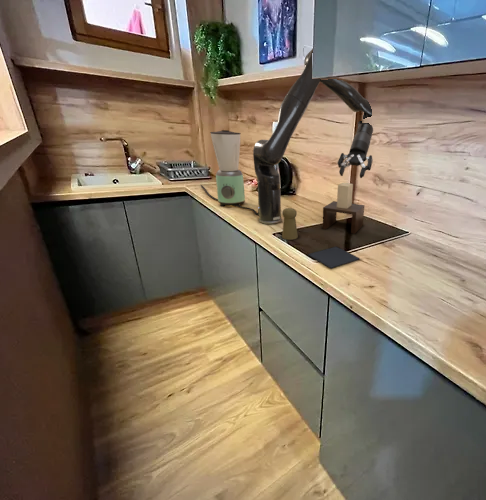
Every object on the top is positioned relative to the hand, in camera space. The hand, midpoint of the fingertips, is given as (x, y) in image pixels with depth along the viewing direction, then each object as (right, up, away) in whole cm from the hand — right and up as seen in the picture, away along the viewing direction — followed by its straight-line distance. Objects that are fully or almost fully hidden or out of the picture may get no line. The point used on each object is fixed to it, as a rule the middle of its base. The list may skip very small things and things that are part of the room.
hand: (350, 175), depth 126 cm
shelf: (-3, -21, +3) cm, 22 cm away
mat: (-7, -33, -27) cm, 43 cm away
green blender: (-59, -7, +29) cm, 66 cm away
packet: (-3, -13, -1) cm, 13 cm away
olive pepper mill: (-24, -26, -11) cm, 37 cm away
